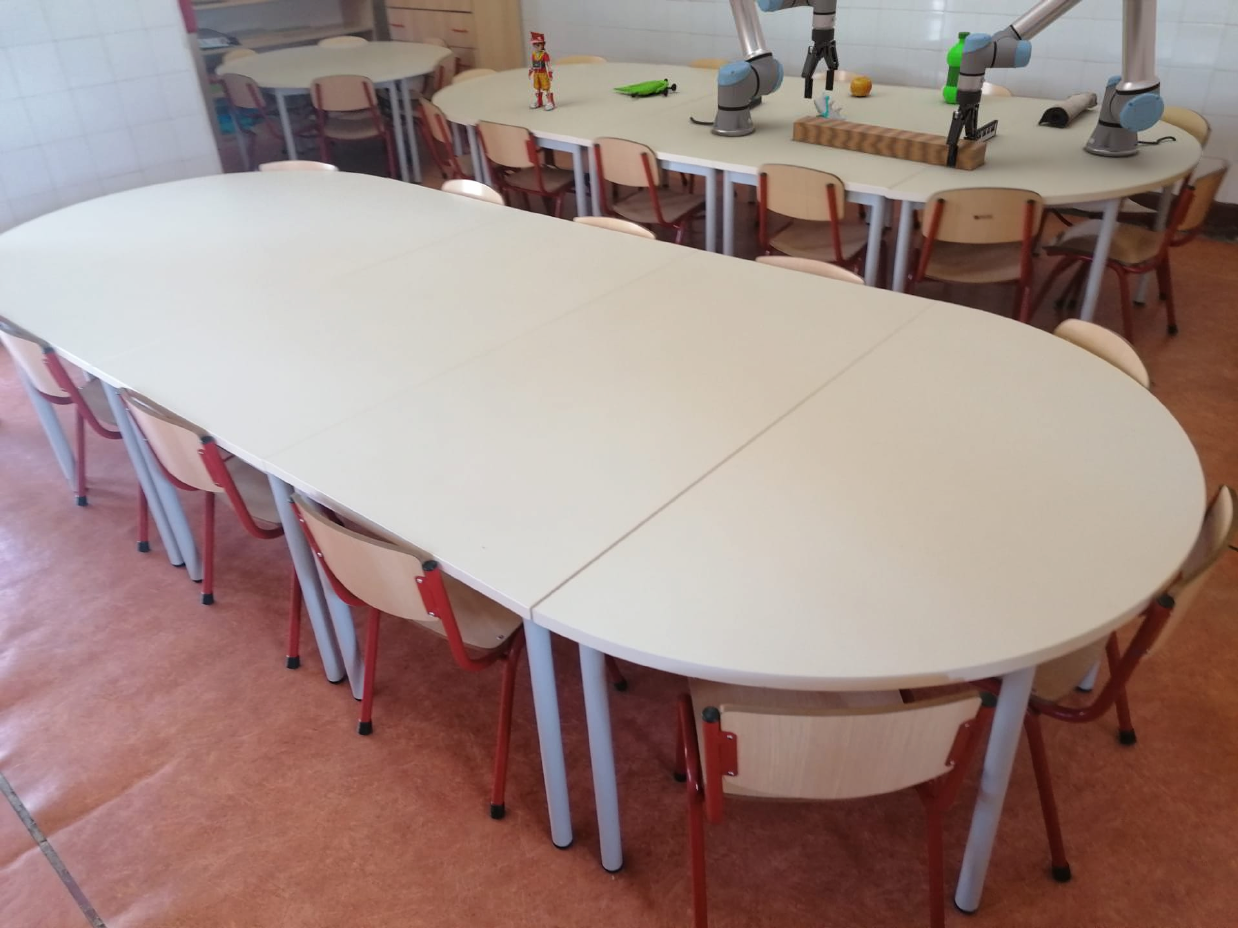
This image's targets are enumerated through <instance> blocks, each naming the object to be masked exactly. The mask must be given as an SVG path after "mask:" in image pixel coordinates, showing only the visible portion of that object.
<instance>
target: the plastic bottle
mask: <svg viewBox="0 0 1238 928" xmlns="http://www.w3.org/2000/svg"><path fill="white" fill-rule="evenodd" d="M970 34H971V32H970V31H959V32H958V36H957V39H958V42H957V43H956V44H954V45H953V46H952V47H951V48H950V49H949V50H948V52H947V54H946V63H947V64H948V69H947V70H948V71H947V76H946V77H947V78H946V84H945V85H944V87H943V90H942V97H943V99H944V100H945V101H946V102H947V103H948V104H958V103H957V102H956V101H955V98H956V91H957V89H959V88H958V87H957V84H958V78H959V73H960V66H961V59H962V50H963V47H964V42H965V38H966V37H967V36H968V35H970Z"/></svg>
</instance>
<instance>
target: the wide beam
mask: <svg viewBox="0 0 1238 928" xmlns="http://www.w3.org/2000/svg"><path fill="white" fill-rule="evenodd" d="M792 129H793V130H792V141H796V142H803V143H810V144H814V145H815V144H816V145H821V146H826V147H832V148H838V149H844V150H849V151H856V152H861V153H868V154H873V155H879V156H885V157H890V158H896V159H903V160H908V161H914V162H920V163H925V164H926V163H927V164H932V165H937V166H943V167H949V168H954V169H960V170H961V169H962V170H966V171H972V170H974V169H975V168H978V167H979V166H981V165H983V164H984V163H985V158H986V153H987V147H988V142H986V141H983V142H979V141H973V140H966V139H963V138H959V141H958V144H957V145H959V146H958V152H957V158H956V164H955V167H953V166H947V165H946V163H947V157H948V150H949V145H946V142H947V138H948V136H947V135H946V136H945V135H938V134H933V133H932V134H931V133H927V132H919V131H912V130H907V129H900V128H899V129H898V128H892V127H886V126H880V125H879V126H878V125H872V124H866V123H860V122H853V121H848V120H847V121H846V120H845V121H840V120H833V119H827V118H824V117H821V116H820V117H819V116H813V115H807V116H804V117H801V118H799V119H796V120H794V121H793V128H792Z"/></svg>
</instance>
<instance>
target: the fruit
mask: <svg viewBox="0 0 1238 928" xmlns="http://www.w3.org/2000/svg"><path fill="white" fill-rule="evenodd" d="M872 88H873V84H872V81H871V79H870V78H868V77H866V76H859V77H856V78H854V79H853V80H852V81H851V82H850V86H849V89H850V90H849V91H850V92H851V94H852V95H853V96H855V97H865V96H868V95H869V94H870V93H871V91H872Z"/></svg>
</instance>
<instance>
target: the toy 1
mask: <svg viewBox="0 0 1238 928" xmlns="http://www.w3.org/2000/svg"><path fill="white" fill-rule="evenodd" d="M529 33H530V35H531V36H528V37H527V38H528V39H529V40H528V41H527V43H529V44H530V43H531V44H532V48H533V50H534V51H533V52H532V55H531V58H530V59H531V63H530V66H528V74H527V75H528V76H527V77H528V79H529V80H531V75H532V74H533V84H532V85H533V86H532V87H533V88H534V89H535V90H536V92H534V95H535V97H536V100H535V101H533V102H531V105H530V108H531V109H535V108H538V107H542V106H544V101H543V100H544V99H543V95H544V92H546V94H545V97H546V99H547V103H546V104H545V106H544V110H546V111H549V110H553V109H554V107H555V106H556V105H555V99H554V92H551V91H550V90H551V86H552V84H551V82H552V81H553V80H554V77H553V73H554V71H555V70H554V69H552V68H551V63H550V61H551V59H550V58H551V57H550V54H549V53H548V52H547V50H546V48H545V46H546V44H547V41H545V35H544V33H543V32H542V33H539V32H535V31H529Z"/></svg>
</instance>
